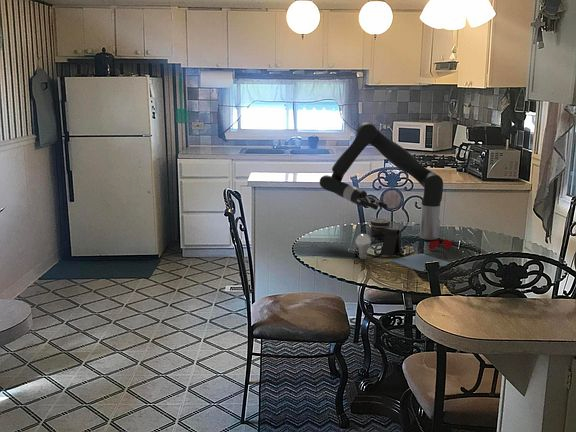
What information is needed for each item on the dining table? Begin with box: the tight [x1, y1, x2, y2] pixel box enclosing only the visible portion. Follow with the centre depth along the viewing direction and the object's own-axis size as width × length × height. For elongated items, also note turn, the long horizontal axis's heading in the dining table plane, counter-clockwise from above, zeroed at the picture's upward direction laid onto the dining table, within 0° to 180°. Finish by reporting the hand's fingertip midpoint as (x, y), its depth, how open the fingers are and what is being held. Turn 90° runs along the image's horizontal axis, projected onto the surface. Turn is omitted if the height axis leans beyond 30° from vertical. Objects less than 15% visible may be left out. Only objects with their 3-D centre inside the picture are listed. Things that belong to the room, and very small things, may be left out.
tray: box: [389, 252, 450, 271], centre depth 264 cm, size 20×20×1 cm
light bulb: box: [355, 233, 372, 261], centre depth 267 cm, size 7×7×12 cm
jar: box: [369, 218, 391, 238], centre depth 310 cm, size 10×10×8 cm
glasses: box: [427, 239, 473, 261], centre depth 280 cm, size 14×16×5 cm
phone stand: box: [380, 227, 403, 257], centre depth 277 cm, size 9×6×12 cm, turn 137°
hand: (382, 207), depth 281 cm, fingers open, 8 cm apart
